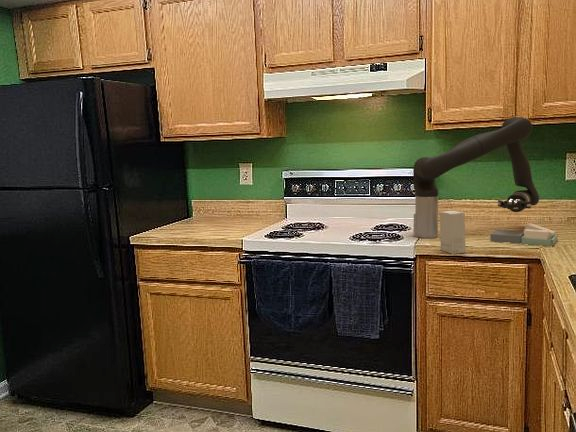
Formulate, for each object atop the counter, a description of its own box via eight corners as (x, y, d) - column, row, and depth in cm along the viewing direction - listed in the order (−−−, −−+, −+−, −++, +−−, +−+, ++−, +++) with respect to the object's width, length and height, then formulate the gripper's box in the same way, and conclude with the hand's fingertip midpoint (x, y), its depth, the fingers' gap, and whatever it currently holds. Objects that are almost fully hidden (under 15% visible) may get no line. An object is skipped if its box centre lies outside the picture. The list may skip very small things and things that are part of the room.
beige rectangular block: (526, 224, 204) (552, 233, 198) (529, 222, 207) (555, 231, 201) (522, 233, 205) (549, 242, 199) (525, 231, 208) (551, 241, 202)
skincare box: (465, 253, 189) (466, 212, 186) (450, 254, 187) (451, 213, 185) (453, 248, 197) (453, 209, 195) (438, 249, 195) (439, 210, 193)
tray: (520, 244, 200) (520, 238, 199) (526, 238, 210) (527, 232, 210) (552, 247, 194) (552, 240, 193) (557, 240, 204) (557, 234, 204)
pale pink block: (524, 230, 199) (547, 232, 194) (526, 228, 202) (549, 230, 198) (523, 243, 200) (547, 245, 195) (525, 241, 203) (548, 243, 198)
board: (490, 241, 207) (490, 234, 206) (496, 236, 216) (496, 229, 215) (520, 243, 201) (520, 236, 200) (525, 238, 210) (525, 231, 209)
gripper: (501, 192, 219) (492, 196, 204) (536, 193, 211) (528, 197, 197) (500, 209, 220) (491, 215, 205) (535, 212, 212) (527, 217, 198)
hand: (509, 206), depth 201 cm, fingers closed
